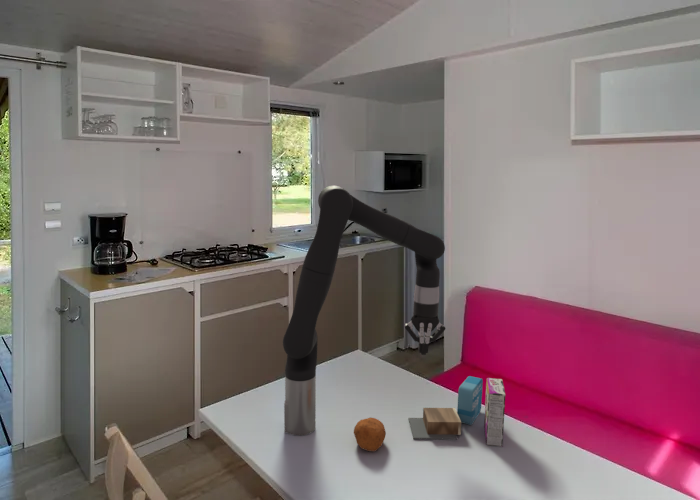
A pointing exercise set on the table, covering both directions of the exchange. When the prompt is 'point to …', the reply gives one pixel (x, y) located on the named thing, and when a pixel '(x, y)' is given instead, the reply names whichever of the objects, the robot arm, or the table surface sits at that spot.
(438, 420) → the slab
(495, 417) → the candy bar box
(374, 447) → the potato
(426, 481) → the table surface
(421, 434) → the mat
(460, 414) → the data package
